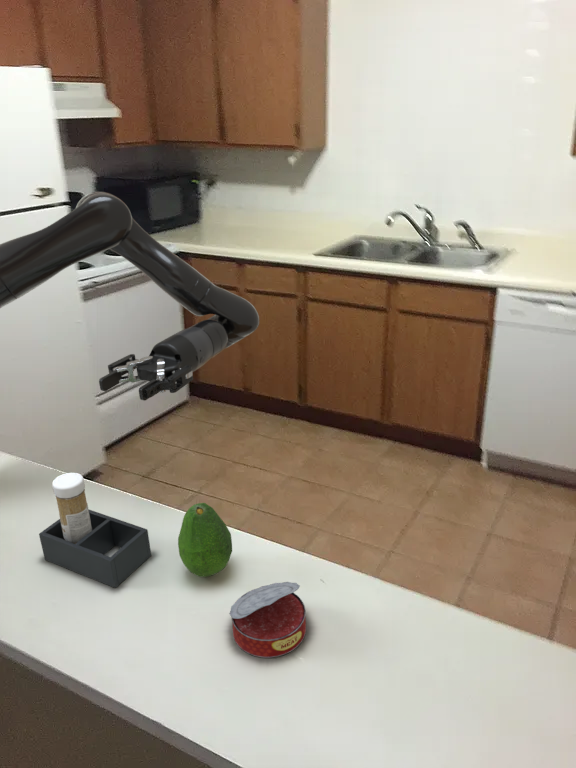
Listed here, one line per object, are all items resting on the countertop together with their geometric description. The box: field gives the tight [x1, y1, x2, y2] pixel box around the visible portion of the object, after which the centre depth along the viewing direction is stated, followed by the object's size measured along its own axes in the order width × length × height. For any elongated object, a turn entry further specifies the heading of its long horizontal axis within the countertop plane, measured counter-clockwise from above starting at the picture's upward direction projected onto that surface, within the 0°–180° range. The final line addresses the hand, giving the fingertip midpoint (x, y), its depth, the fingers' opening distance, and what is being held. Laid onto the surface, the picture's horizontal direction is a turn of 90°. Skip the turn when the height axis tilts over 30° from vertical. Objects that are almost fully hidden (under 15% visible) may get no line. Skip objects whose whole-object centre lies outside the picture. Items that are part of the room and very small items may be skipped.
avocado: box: [177, 502, 233, 578], centre depth 98 cm, size 8×8×12 cm
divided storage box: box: [38, 508, 152, 589], centre depth 104 cm, size 14×8×5 cm, turn 61°
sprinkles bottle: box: [51, 472, 92, 544], centre depth 103 cm, size 5×5×14 cm
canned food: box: [228, 581, 307, 659], centre depth 88 cm, size 11×10×10 cm
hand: (120, 390), depth 107 cm, fingers open, 8 cm apart
